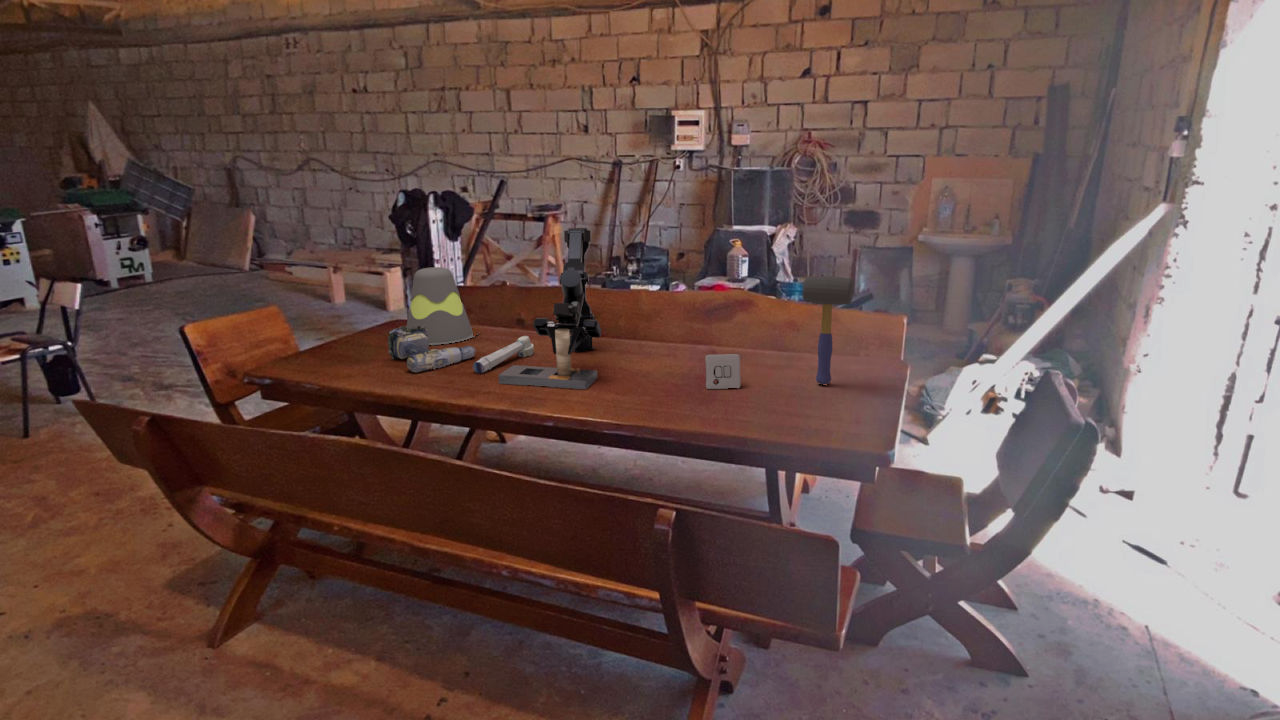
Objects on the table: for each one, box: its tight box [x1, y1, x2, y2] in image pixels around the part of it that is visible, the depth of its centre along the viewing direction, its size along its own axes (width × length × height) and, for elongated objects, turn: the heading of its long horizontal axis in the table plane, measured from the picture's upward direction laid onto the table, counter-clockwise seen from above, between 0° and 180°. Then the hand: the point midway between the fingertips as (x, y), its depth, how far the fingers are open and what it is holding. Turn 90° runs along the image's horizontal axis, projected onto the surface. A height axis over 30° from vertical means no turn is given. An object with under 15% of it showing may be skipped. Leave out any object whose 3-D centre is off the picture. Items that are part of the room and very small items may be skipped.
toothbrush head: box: [472, 335, 535, 375], centre depth 231 cm, size 5×7×25 cm
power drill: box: [387, 325, 476, 374], centre depth 235 cm, size 22×23×11 cm
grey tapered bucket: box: [406, 266, 479, 346], centre depth 263 cm, size 28×28×24 cm
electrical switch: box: [704, 353, 741, 390], centre depth 204 cm, size 9×5×9 cm, turn 90°
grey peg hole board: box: [498, 364, 598, 390], centre depth 212 cm, size 26×10×3 cm, turn 74°
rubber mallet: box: [802, 275, 854, 384], centre depth 200 cm, size 12×8×30 cm, turn 67°
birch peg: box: [555, 328, 572, 376], centre depth 209 cm, size 4×4×13 cm
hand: (561, 353), depth 208 cm, fingers closed on birch peg, 4 cm apart
